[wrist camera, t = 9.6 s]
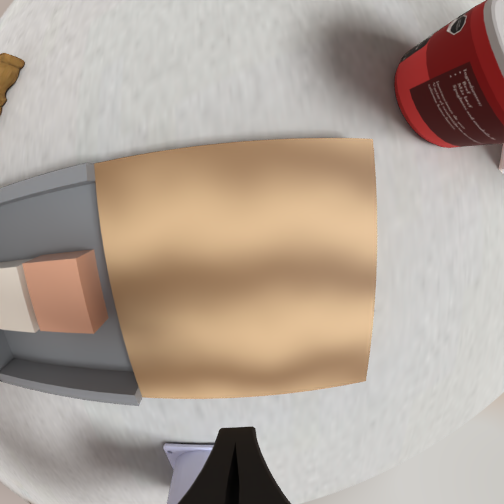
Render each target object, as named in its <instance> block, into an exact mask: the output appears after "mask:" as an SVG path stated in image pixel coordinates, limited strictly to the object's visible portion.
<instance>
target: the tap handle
mask: <svg viewBox="0 0 504 504" xmlns="http://www.w3.org/2000/svg"><path fill="white" fill-rule="evenodd" d="M23 66H24V61H23V60H22V59H20V58H17V57H15V56H12V55H9V54H6V53H2V54H0V114H1V111H2V107H1V106H2V105H3V104H4V103H5V102H6V100H7V99H6V97H5V93H6V90H7V89H8V88H9V87H10V86H12V85H13V84H14V82H15V81H16V79H17V78H18V75H19V69H21V68H22V67H23Z"/></svg>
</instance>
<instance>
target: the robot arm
mask: <svg viewBox="0 0 504 504" xmlns="http://www.w3.org/2000/svg"><path fill="white" fill-rule="evenodd" d="M163 449H164V451H165V453H166V455H167V457H168V460H169V462H170V464H171V466H172V468H173V470H174V471H173V476H172V481H171V485H170V490H169V495H168V500H167V504H291V503H290V502H289V501H288V499H287V498H286V496H285V495H284V494H283V492H282V491H281V489H280V488H279V486H278V485H277V483H276V481H275V479H274V478H273V476H272V474H271V472H270V471H269V469H268V467H267V464H266V462H265V460H264V458H263V456H262V453H261V451H260V448H259V445H258V442H257V437H256V430H255V428H254V427H238V428H221V429H220V430H219V433H218V436H217V439H216V441H215V444H214V445H189V444H169V443H167V444H164V447H163Z"/></svg>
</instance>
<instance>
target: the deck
mask: <svg viewBox="0 0 504 504" xmlns="http://www.w3.org/2000/svg"><path fill="white" fill-rule="evenodd" d="M94 169H95V182H96V193H97V203H98V211H99V219H100V227H101V234H102V240H103V247H104V253H105V258H106V264H107V269H108V275H109V280H110V284H111V289H112V294H113V298H114V303H115V307H116V311H117V315H118V319H119V323H120V327H121V331H122V334H123V338H124V342H125V345H126V349H127V352H128V355H129V359H130V362H131V365H132V368H133V371H134V374H135V377H136V380H137V383H138V386H139V389H140V392H141V395H142V397H147V398H173V399H212V398H238V397H254V396H266V395H277V394H287V393H295V392H303V391H311V390H318V389H324V388H331V387H337V386H342V385H348V384H353V383H358V382H363V381H366V376H367V369H368V362H369V354H370V346H371V337H372V327H373V316H374V304H375V288H376V266H377V198H376V176H375V161H374V148H373V139H359V138H299V139H274V140H257V141H243V142H231V143H221V144H211V145H202V146H194V147H186V148H179V149H172V150H165V151H158V152H152V153H146V154H140V155H135V156H129V157H124V158H119V159H114V160H109V161H104V162H100V163H95V164H94Z"/></svg>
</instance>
